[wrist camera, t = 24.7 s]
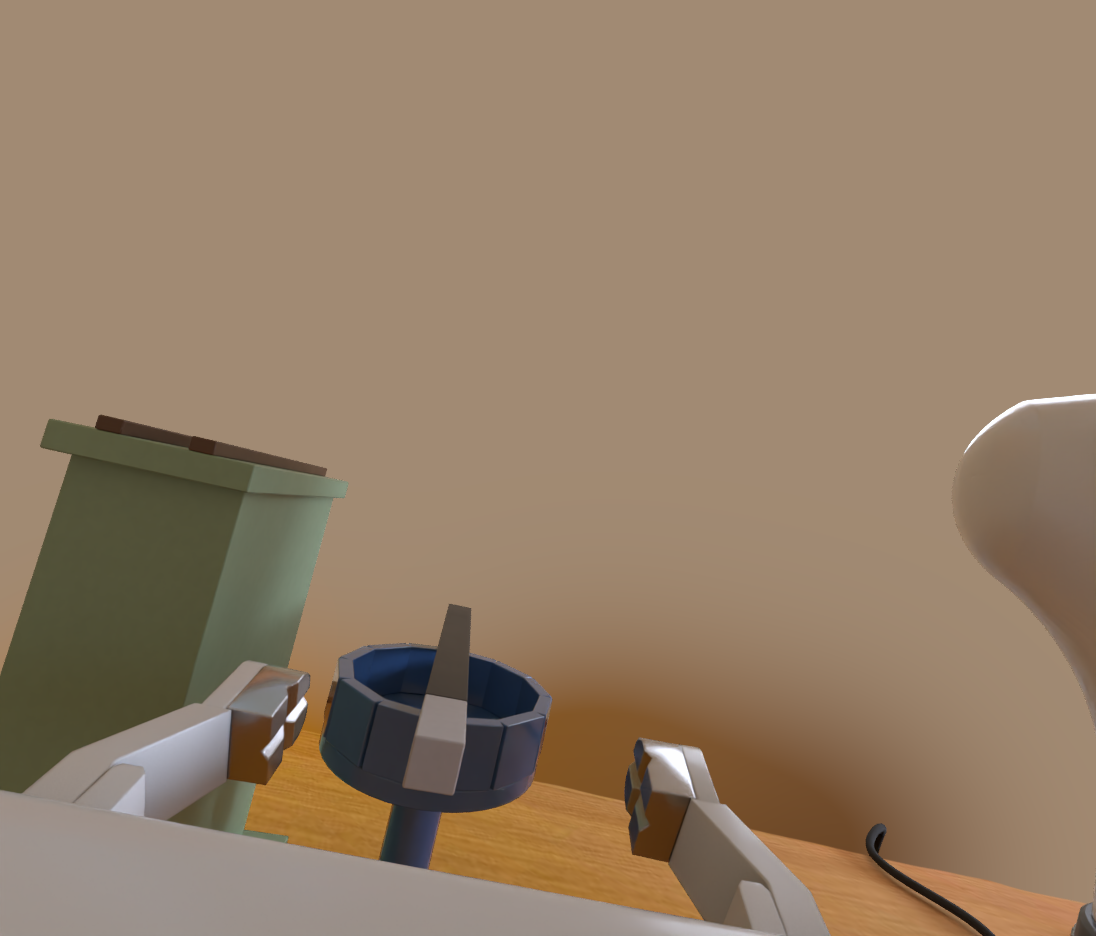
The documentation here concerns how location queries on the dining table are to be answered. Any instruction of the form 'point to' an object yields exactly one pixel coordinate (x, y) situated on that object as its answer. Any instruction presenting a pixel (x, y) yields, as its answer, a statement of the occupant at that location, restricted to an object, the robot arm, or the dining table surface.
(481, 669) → the blue goblet
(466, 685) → the pen
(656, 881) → the dining table surface
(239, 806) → the pen stand
